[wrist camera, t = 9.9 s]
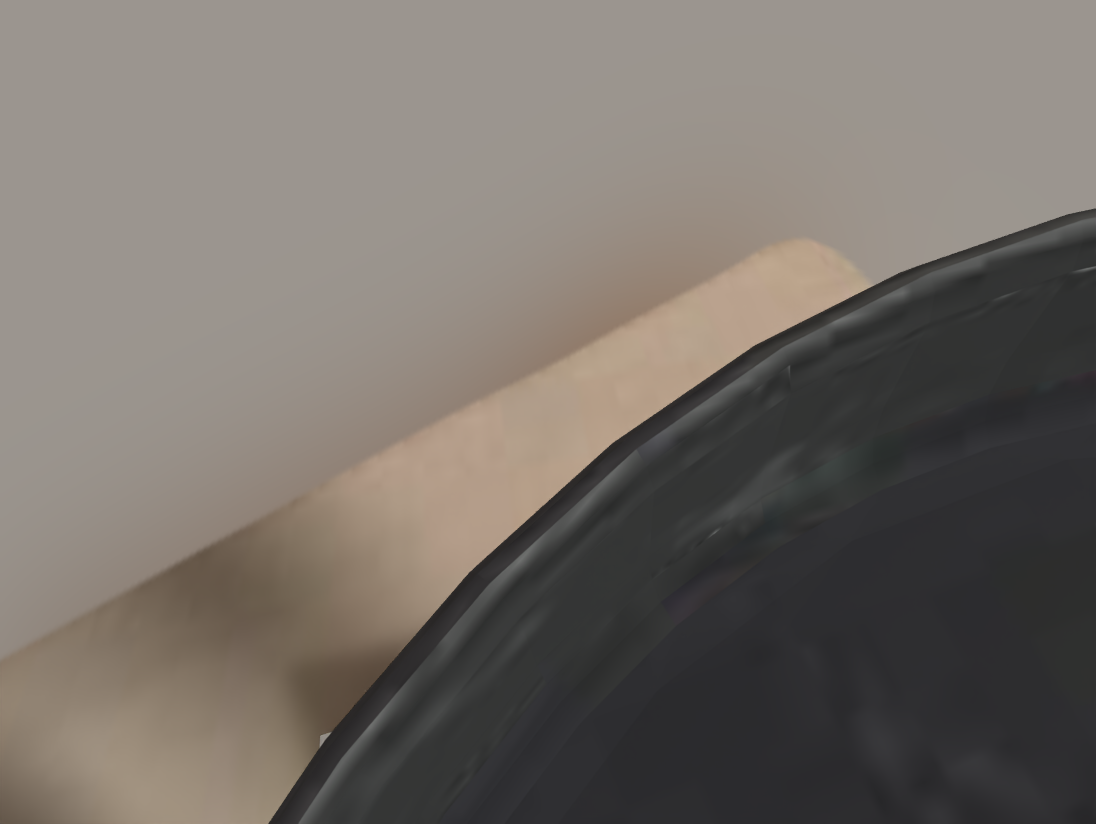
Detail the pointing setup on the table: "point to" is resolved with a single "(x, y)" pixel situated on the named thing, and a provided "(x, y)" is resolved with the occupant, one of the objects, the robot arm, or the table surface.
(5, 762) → the table surface
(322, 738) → the robot arm
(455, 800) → the travel mug
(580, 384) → the table surface
